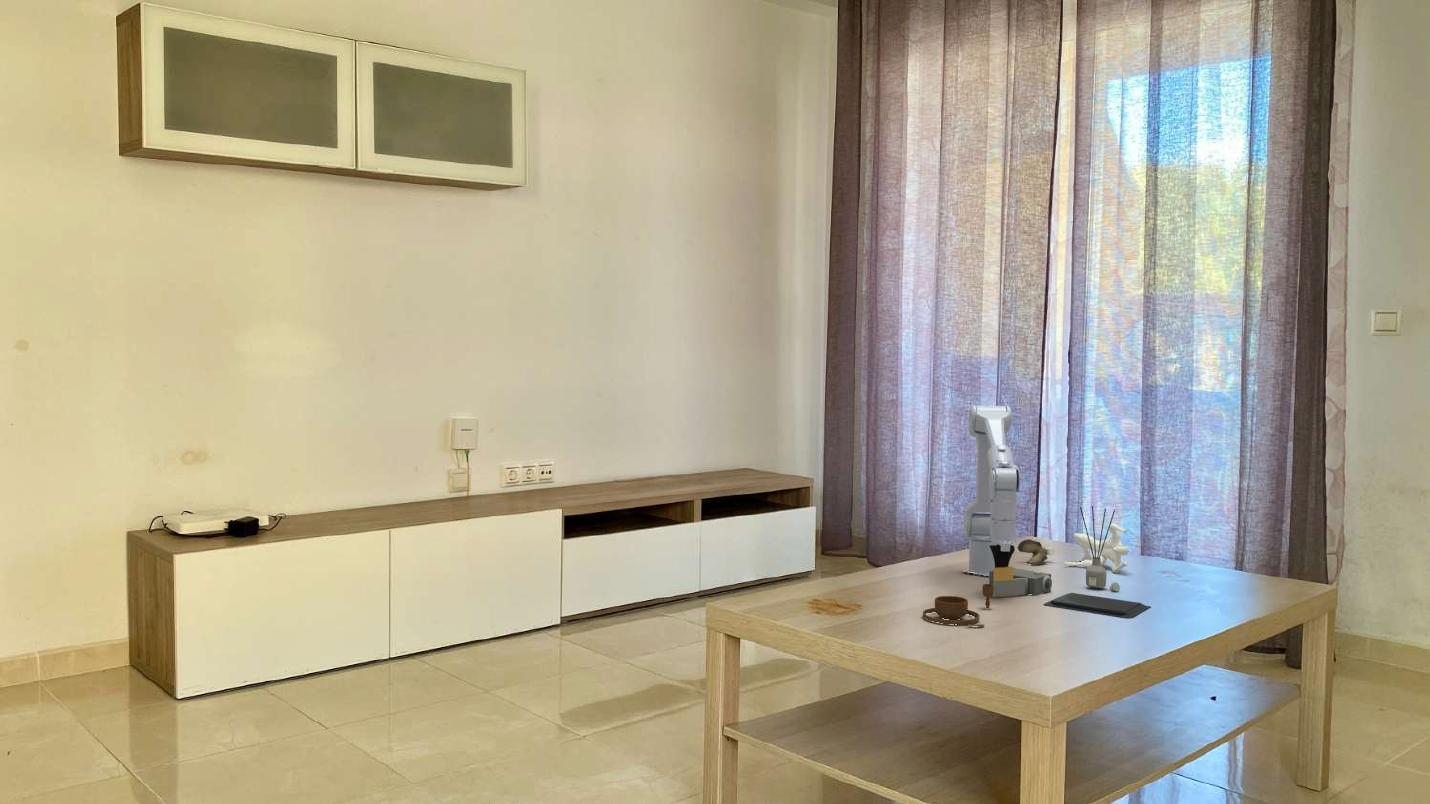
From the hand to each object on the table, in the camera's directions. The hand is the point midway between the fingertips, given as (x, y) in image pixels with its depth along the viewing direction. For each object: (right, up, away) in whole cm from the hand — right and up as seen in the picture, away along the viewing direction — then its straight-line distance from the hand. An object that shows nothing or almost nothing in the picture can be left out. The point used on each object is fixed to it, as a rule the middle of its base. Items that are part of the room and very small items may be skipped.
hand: (1001, 576), depth 260 cm
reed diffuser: (+27, -5, +10) cm, 29 cm away
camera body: (+6, -4, +8) cm, 11 cm away
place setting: (-13, -6, -22) cm, 26 cm away
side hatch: (+2, -4, 0) cm, 5 cm away
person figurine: (+36, -4, +35) cm, 50 cm away
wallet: (+19, -6, -9) cm, 22 cm away
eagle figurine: (+20, -3, +41) cm, 46 cm away
